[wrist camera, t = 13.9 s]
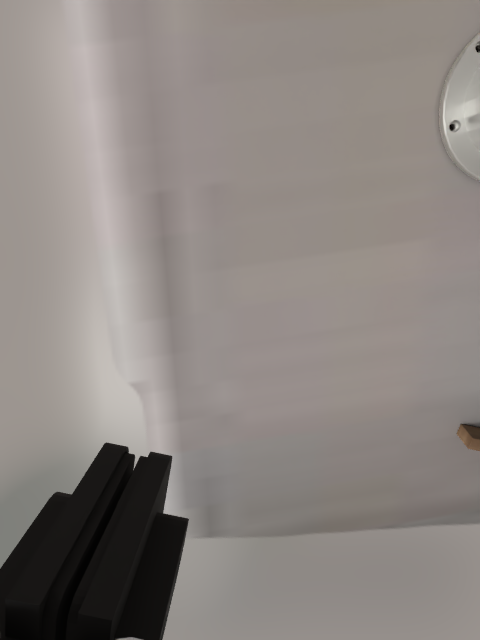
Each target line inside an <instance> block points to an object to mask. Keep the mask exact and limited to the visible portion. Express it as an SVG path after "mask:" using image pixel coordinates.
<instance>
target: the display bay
mask: <svg viewBox="0 0 480 640" xmlns="http://www.w3.org/2000/svg"><path fill="white" fill-rule="evenodd" d="M457 435H458V436H459V437H460V439H461V440H462V441H463V443H464V444H465V445H466V446H467V448H468V449H472V450H477V451H480V428H478V427H473V426H468V425H464V424H461V425H460V427H459V430H458V432H457Z"/></svg>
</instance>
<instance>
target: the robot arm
mask: <svg viewBox="0 0 480 640" xmlns="http://www.w3.org/2000/svg"><path fill="white" fill-rule="evenodd" d="M475 47H478V49H479V51H478V52H476V49H475ZM450 124H451V125H452V126H453V129H452V131H450V129H449V125H450ZM439 128H440V133H441V137H442V141H443V144H444V146H445V148H446V151H447V153H448V155H449V157H450V158H451V159H452V160H453V162H454V163H455V164H456V166H457V167H458V168H459V169H461V170H462V171H463V172H464V173H465V174H466V175H468V176H469V177H471V178H473V179H475V180H477V181H479V182H480V32H479V33H478V34H477V35H476V36H475V37H474V38H473V39H472V40H471V41H470V42H469V43H468V44H467V45H466V46H465V48H464V49H463V51H462V52H461V53H460V55H459V56H458V58H457V59H456V60H455V62H454V64H453V66H452V68H451V70H450V72H449V74H448V76H447V78H446V81H445V84H444V87H443V90H442V93H441V99H440V106H439ZM128 452H129V450H128V447H126V446H120V445H116V444H111V443H105V444H104V445H103V447H102V448H101V450H100V451H99V453H98V455H97V456H96V458H95V459H94V461H93V462H92V464H91V466H90V467H89V469H88V470H87V472H86V473H85V475H84V477H83V478H82V480H81V481H80V483H79V484H78V486H77V488H76V489H75V491H74V492H73V494H72V495H71V494H66V493H61V492H56V493H55V494H53V495H52V497H51V498H50V499H49V500H48V502H47V503H46V504H45V506H44V507H43V509H42V510H41V512H40V513H39V514H38V516H37V517H36V519H35V520H34V522H33V523H32V525H31V526H30V527H29V529H28V530H27V532H26V533H25V534H24V536H23V537H22V539H21V540H20V542H19V543H18V544H17V546H16V547H15V549H14V550H13V551H12V553H11V554H10V556H9V557H8V559H7V560H6V562H5V563H4V564H3V566H2V567H1V569H0V640H162V639H163V634H164V630H165V626H166V621H167V617H168V613H169V608H170V604H171V600H172V596H173V591H174V587H175V583H176V579H177V574H178V570H179V565H180V561H181V556H182V551H183V546H184V542H185V536H186V531H187V526H188V521H189V519H187V518H182V517H178V516H173V515H168V514H163V510H164V504H165V498H166V492H167V486H168V480H169V475H170V469H171V463H172V456H169V455H164V454H160V453H155V452H150V454H149V455H148V457H143V456H140V458H139V460H138V462H137V464H136V466H135V468H134V461H135V455H134V454H129V453H128ZM133 469H134V470H133Z"/></svg>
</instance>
